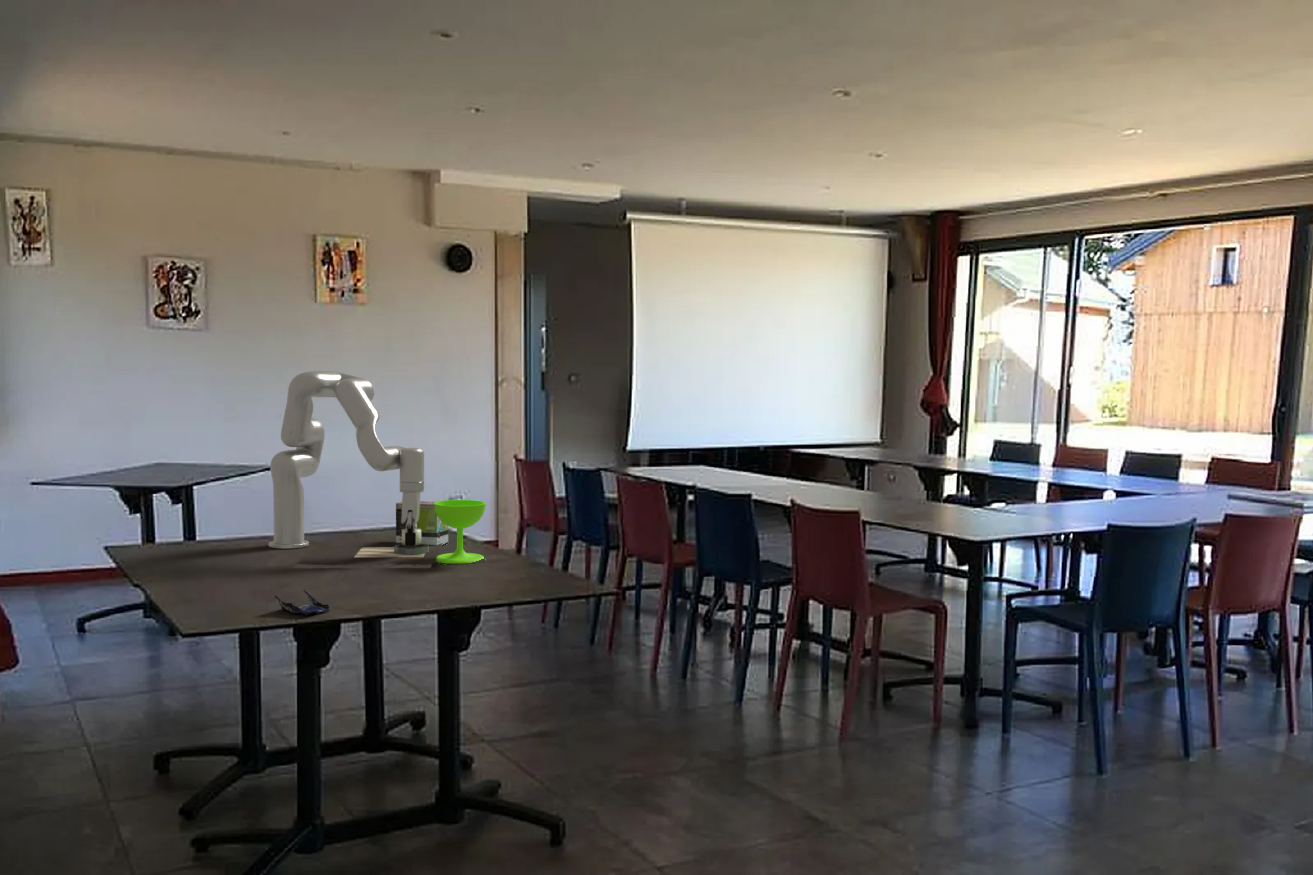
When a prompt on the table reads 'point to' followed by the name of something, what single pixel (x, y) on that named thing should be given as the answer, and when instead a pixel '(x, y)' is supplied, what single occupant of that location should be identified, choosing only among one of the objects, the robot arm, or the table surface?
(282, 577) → the table surface
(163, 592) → the table surface
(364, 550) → the board
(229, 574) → the table surface
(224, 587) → the table surface
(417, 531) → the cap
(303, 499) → the robot arm
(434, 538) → the tea box
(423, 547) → the grey faceted ring
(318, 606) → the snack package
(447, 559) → the wineglass
